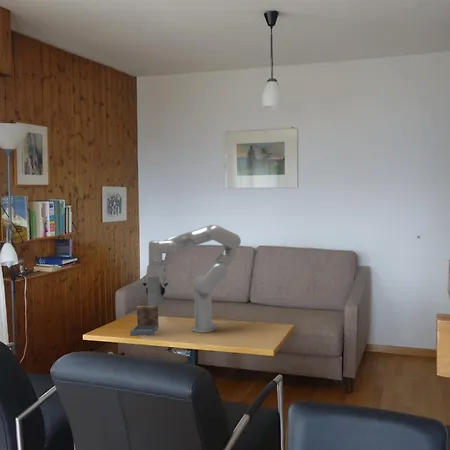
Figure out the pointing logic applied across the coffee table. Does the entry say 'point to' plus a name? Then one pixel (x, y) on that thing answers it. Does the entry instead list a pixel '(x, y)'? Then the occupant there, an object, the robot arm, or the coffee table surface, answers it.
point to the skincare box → (154, 291)
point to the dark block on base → (147, 315)
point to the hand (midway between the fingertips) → (155, 294)
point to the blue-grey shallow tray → (143, 330)
